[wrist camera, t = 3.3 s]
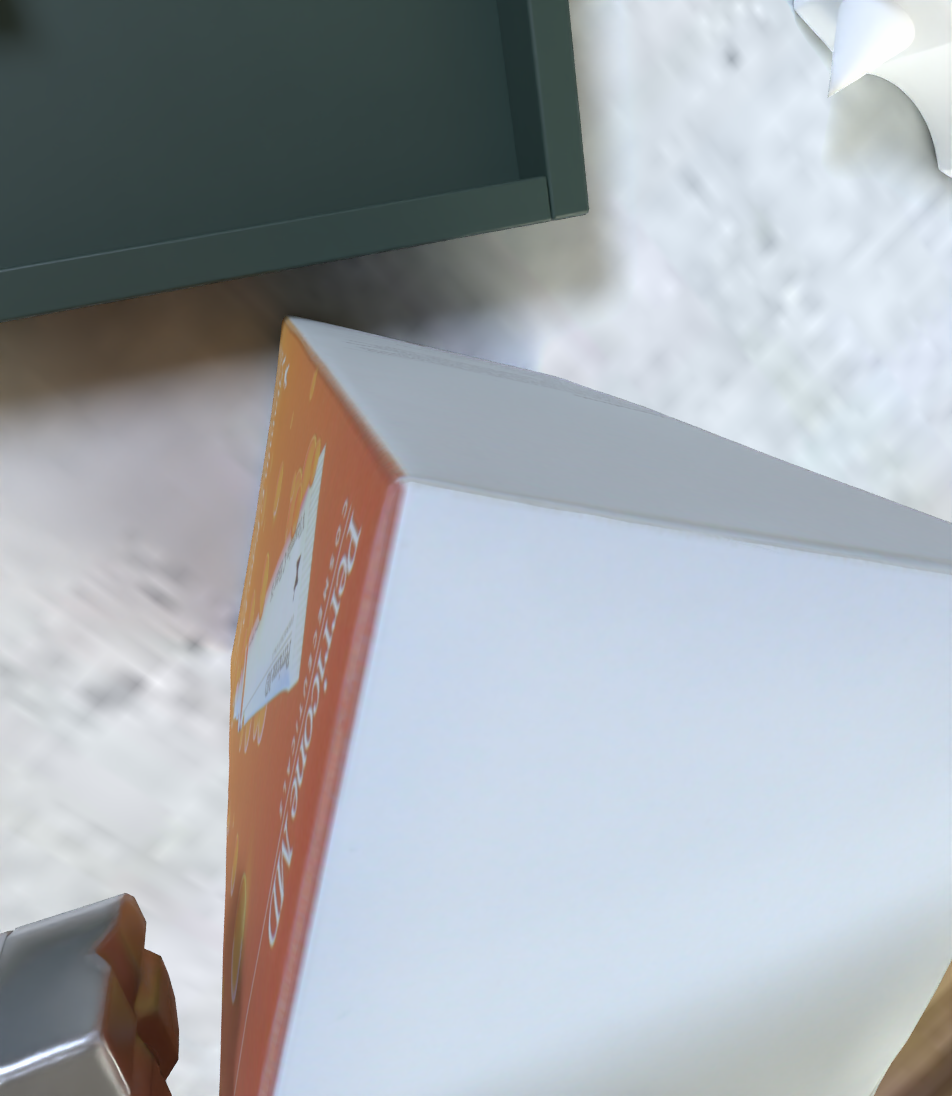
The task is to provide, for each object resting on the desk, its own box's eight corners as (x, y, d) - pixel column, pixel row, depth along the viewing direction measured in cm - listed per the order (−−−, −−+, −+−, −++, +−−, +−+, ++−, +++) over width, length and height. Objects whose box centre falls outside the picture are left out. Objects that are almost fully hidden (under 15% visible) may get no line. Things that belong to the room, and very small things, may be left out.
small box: (278, 309, 16) (392, 443, 4) (559, 373, 18) (1164, 583, 6) (223, 665, 18) (194, 1412, 6) (478, 684, 20) (813, 1273, 8)
